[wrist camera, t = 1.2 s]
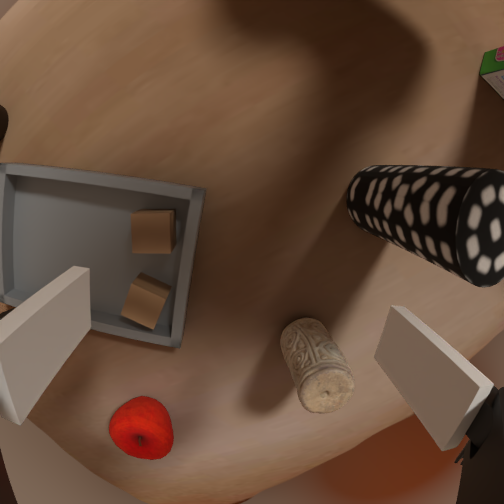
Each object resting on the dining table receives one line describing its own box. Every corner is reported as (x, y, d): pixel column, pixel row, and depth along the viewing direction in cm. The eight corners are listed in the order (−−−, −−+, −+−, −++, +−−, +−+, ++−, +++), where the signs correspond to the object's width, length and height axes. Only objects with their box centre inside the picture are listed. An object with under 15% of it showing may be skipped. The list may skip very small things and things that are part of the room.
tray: (15, 162, 32) (0, 163, 28) (206, 188, 35) (204, 190, 31) (11, 292, 36) (-2, 301, 32) (183, 334, 39) (180, 348, 35)
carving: (291, 368, 41) (311, 428, 30) (268, 325, 39) (284, 382, 28) (334, 347, 41) (366, 402, 29) (314, 302, 39) (347, 352, 28)
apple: (116, 417, 42) (103, 451, 34) (123, 377, 40) (108, 412, 32) (171, 434, 43) (165, 471, 35) (184, 396, 41) (178, 435, 34)
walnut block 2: (140, 271, 36) (131, 283, 32) (171, 286, 36) (166, 299, 32) (130, 300, 36) (120, 314, 32) (160, 314, 37) (153, 329, 33)
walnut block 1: (140, 209, 34) (130, 213, 30) (175, 208, 34) (169, 213, 30) (142, 244, 35) (132, 253, 31) (176, 244, 35) (170, 253, 31)
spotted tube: (413, 215, 37) (531, 253, 18) (361, 244, 38) (466, 308, 18) (391, 155, 35) (514, 153, 16) (335, 182, 36) (441, 198, 16)
